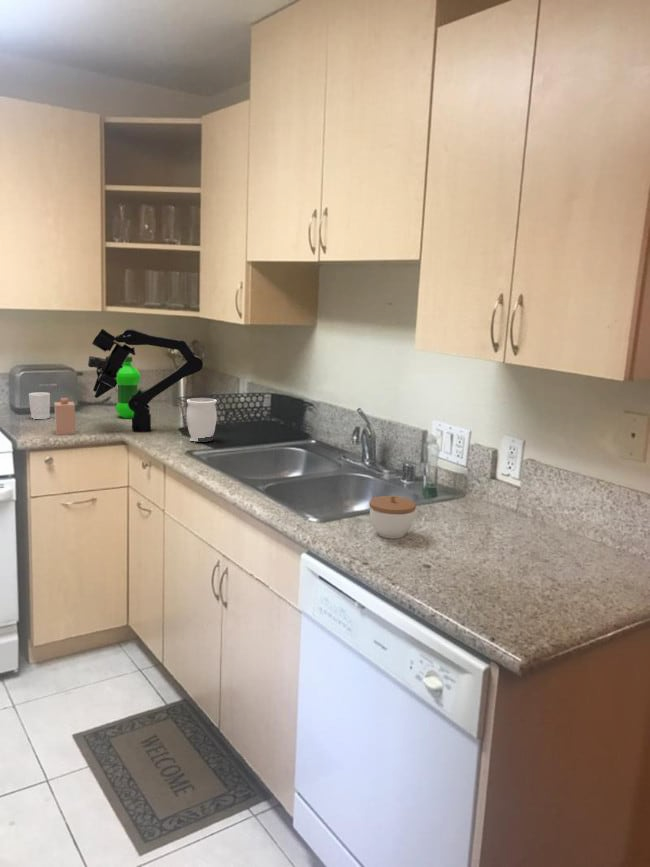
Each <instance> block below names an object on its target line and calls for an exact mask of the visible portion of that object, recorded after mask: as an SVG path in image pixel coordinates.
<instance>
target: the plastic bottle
mask: <svg viewBox="0 0 650 867" xmlns="http://www.w3.org/2000/svg"><path fill="white" fill-rule="evenodd" d="M132 362H133V356H132V355H131V356H130V355H128V357H127V359H126V360H125V362H124V363H123V367H122V369H121V368H120V370H119V371H118V373H117V377H116V381H117V384H116V386H117V403H116V405H115V411H116V413H117V414H118V415H119V416H120V417H121V418H122V417H123V418H122V419H132V417H134V411H132V410H131V409H130V408H129V406H128V403H129V399H130V397H131V395H132V393H135V392H136V391H138V384H139V383H140V382H141V373H140V371H139V370H138V369H136V368H135V367H134V366H133V365H132Z"/></svg>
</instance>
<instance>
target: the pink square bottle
mask: <svg viewBox="0 0 650 867" xmlns="http://www.w3.org/2000/svg"><path fill="white" fill-rule="evenodd" d="M53 405H54V422H55V423H54V426H55V432H56V434H55V435H56V436H57V435H58V436H59V435H61V436H65V435H64V434H70V435H76V434H77V433H76V431H77V428H76V427H77V426H76V405H75V403H74V401H69V398H68V397H60V401H59V402H58V401H57V402H56V401H55V402H54V404H53Z"/></svg>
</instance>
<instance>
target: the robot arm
mask: <svg viewBox="0 0 650 867" xmlns="http://www.w3.org/2000/svg"><path fill="white" fill-rule="evenodd" d="M122 343H123V344H122ZM91 345H94V347H96V348H98V349H100V350H102V351H103V352H105V353H106V352H108V351H109V352H110V351H111V352H110V354H109V355H108V356H106V357H105V358H101V357H98V356H97V357H96V356H92V355H91V356H89V357H88V363H87V365H88V367H89V368H96V370H95V372H96V375H97V378H96V380H95V382H94V387H93V390H92V391H93V392H95V394H94V398H96V399H98V398H99V397H102V396H103V395H104V394H106V393H107V392H109V391H110V390H111V389H114V388H116V387H117V381H116V377H117V373H118V371H119V370H120V368H121V369H122V367H123V363H124V362H125V360H126V359H127V357H128V356H130V354H131V355H133V356H135V355H136V349H135V347H134V346H145V345H147V346H153V347H159V348H166V349H170V350H171V349H172V350H177V351H179V353H181V356H182V357H183V359H184V361H183V363H182V364H181V365H180V366H179V367H178V368H177V369H175V370H174V371H172V372H170V373H169V374H168V375H166V376H165V377H163V378H162V379H160V380H158V381H157V382H155V383H154V384H153V385H152V386H150V387H148V388H146V389H144V390H142V388H141V387H139V388H138V389H137V391H136V392H135V393H132V395H131V397H130V399H129V403H128V406H129V408H130V409H131V410H132V411H134V417H132V418H131V428H132V430H133V432H152V418H151V413H150V412H151V411H150V410H151V407H150V405H149V403H150V402H152V400H153V399H154V398H155V397H157V396H158V395H160V394H161V393H163V392H164V391H166V390H167V389H169V388H170V387H172V386H173V385H175V384H176V383H178V382H179V381H180V380H182V379H184V378H186V377H189V376H191V375H194V374H196V373H198V372H200V371H201V370H202V369H203V365H204V363H203V360H202V358H201V357H200V356H199V355H195V353H194V352H193V351H192V349H191V348H190V347H189V345H188V344H187V343H186V341H185V340H184V339H177V338H170V337H165V336H160V335H159V336H158V335H154V334H153V335H152V334H148V333H147V332H143V331H142V330H141V331H140V330H139V329H135V328H127V329H125V330H124V331H123V333H121V334H119V335H118V334H117V335H114V334H111V333H110V332H108V331H107V330H106V329H104V328H101V330H100V331H99V332H98V334H97V335H96V336H95V338H94V339H93V341H92V343H91ZM131 346H133V347H131Z"/></svg>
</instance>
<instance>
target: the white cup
mask: <svg viewBox="0 0 650 867" xmlns="http://www.w3.org/2000/svg"><path fill="white" fill-rule="evenodd" d="M28 401H29V410H30V417H31V419H32V418H33V419H32V420H35V419H43V420H48V419H47V418H49V419H50V412H51V393H50V392H45V391H44V392H41V391H38V392H37V391H35V392H31V393H30V392H29V393H28Z"/></svg>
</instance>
